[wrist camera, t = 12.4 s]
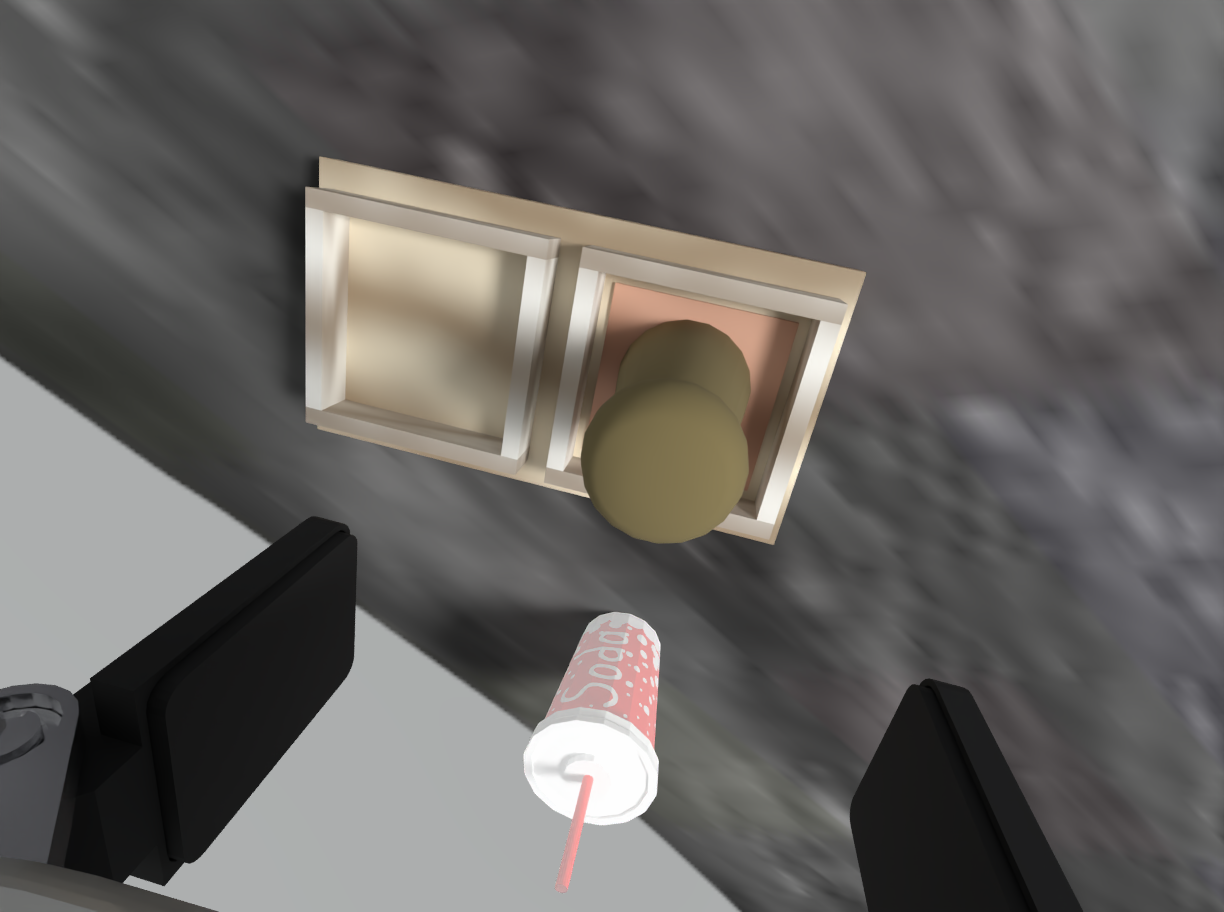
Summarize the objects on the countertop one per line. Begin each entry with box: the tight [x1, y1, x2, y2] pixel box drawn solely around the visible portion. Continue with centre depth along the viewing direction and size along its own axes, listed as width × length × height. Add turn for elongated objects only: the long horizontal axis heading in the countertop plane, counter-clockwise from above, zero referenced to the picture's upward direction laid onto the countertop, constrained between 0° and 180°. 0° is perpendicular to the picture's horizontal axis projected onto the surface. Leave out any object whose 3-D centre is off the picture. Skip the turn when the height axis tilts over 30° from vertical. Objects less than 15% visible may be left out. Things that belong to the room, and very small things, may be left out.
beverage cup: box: [524, 612, 660, 893], centre depth 29 cm, size 6×6×14 cm
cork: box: [581, 319, 751, 543], centre depth 23 cm, size 6×6×11 cm
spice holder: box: [305, 157, 866, 545], centre depth 28 cm, size 13×24×4 cm, turn 79°
